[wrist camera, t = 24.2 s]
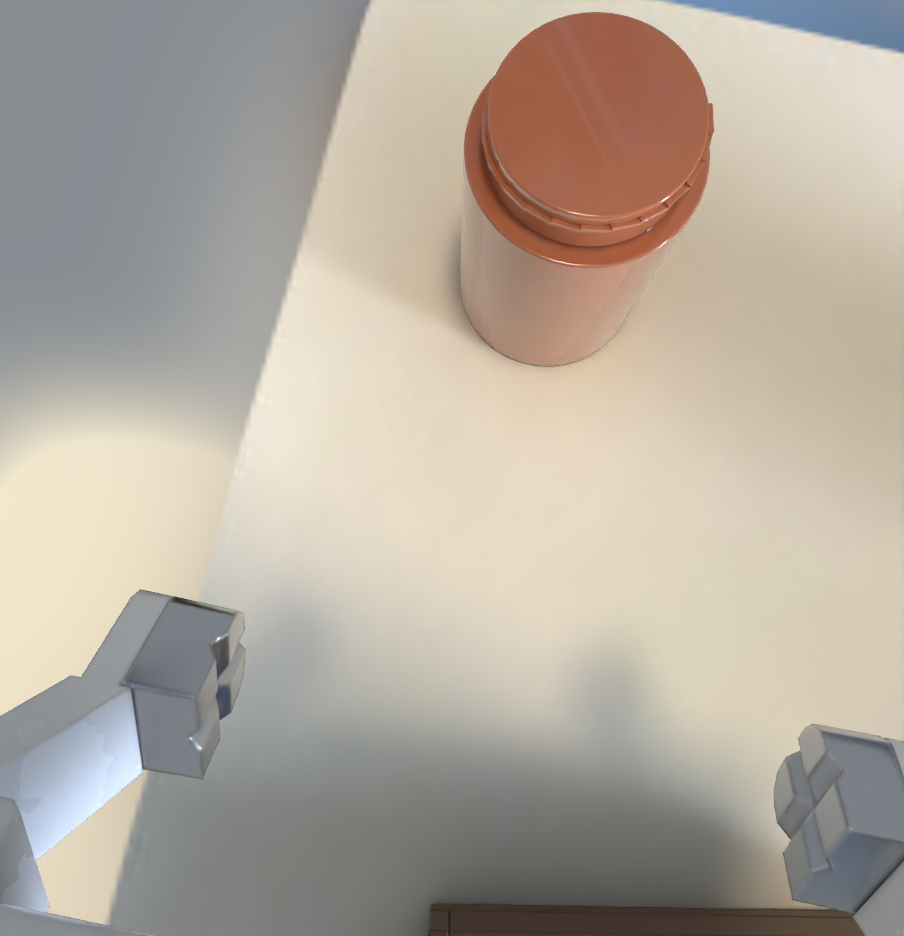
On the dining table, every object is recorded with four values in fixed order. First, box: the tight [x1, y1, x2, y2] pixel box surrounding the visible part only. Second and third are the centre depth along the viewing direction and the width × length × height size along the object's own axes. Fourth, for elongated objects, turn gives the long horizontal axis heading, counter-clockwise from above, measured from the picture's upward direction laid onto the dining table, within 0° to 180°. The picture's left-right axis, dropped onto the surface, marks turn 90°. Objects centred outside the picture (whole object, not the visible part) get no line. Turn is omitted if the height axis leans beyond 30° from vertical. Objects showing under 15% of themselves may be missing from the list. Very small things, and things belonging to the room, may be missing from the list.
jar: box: [460, 12, 714, 366], centre depth 24 cm, size 6×6×11 cm
